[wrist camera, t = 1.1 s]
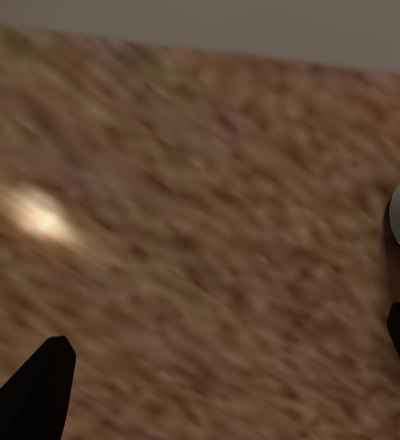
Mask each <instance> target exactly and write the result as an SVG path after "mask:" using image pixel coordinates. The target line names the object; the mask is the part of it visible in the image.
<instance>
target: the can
mask: <svg viewBox="0 0 400 440" xmlns="http://www.w3.org/2000/svg"><path fill="white" fill-rule="evenodd" d="M389 216H390V227H391V229H392V231H393V234H394V236H395V238H396V240H397V242H398V243H399V244H400V183H399V185H398V186H397V188H396V190H395V191H394V193H393V195H392V200H391V204H390V208H389Z"/></svg>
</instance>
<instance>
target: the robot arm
mask: <svg viewBox="0 0 400 440" xmlns="http://www.w3.org/2000/svg"><path fill="white" fill-rule="evenodd" d="M387 328H388V331H389V334H390V336H391V339H392V341H393V343H394V346H395V348H396V351H397V353H398V355H399V358H400V302H394V303H393V304H392V307H391V310H390V313H389V316H388V319H387ZM75 362H76V354H75V351H74V349H73V348H72V346H71V344H70V343H69V341H68V339H67V338H66V337H65V336H53V337H50V338H48V339H47V340H46V341H45V342H44V343H43V344H42V345H41V346H40V347H39V348H38V349H37V350H36V351H35V353H34V354H33V355H32V356H31V357H30V358H29V359H28V360H27V361H26V362H25V363H24V364H23V365H22V366H21V367H20V368H19V369H18V370H17V372H16V373H15V374H14V375H13V376H12V377H11V378H10V379H9V380H8V381H7V382H6V383H5V384H4V385H3V386H2V387H1V388H0V440H61V436H62V432H63V429H64V425H65V421H66V416H67V411H68V406H69V399H70V393H71V387H72V381H73V375H74V369H75Z"/></svg>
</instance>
